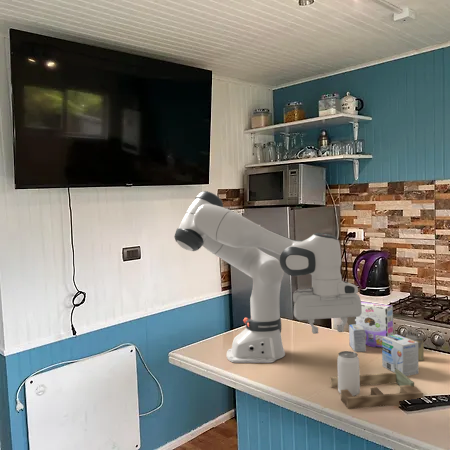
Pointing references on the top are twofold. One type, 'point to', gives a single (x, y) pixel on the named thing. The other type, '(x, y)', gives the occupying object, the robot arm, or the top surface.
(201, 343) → the top surface
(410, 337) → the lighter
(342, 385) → the can
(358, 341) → the medicine box
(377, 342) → the candy box
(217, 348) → the top surface
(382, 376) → the trap box
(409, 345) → the light bulb box
